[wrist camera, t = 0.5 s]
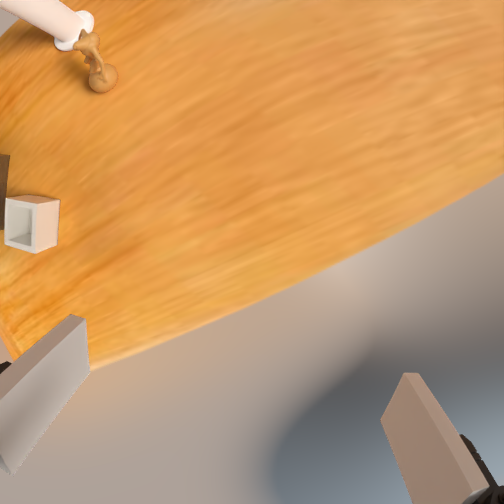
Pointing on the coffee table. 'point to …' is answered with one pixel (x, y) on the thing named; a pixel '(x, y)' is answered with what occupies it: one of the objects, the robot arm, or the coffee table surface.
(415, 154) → the coffee table surface
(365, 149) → the coffee table surface
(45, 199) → the pen cup
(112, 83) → the figurine
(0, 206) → the grey box with hole
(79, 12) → the candle
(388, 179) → the coffee table surface
